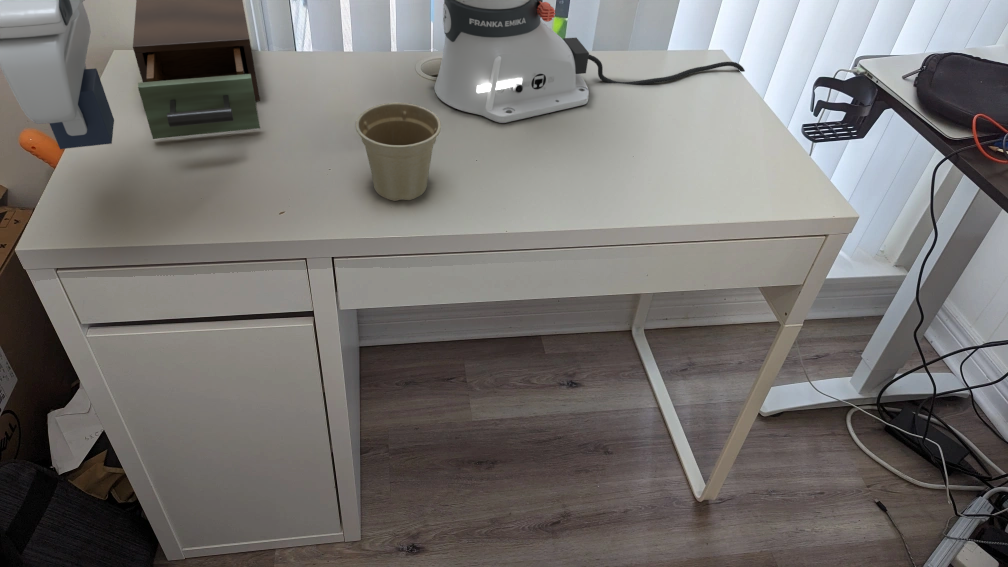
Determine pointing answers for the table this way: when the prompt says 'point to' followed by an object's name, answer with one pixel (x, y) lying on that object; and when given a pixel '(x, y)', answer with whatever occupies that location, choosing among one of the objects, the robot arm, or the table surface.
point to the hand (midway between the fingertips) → (81, 116)
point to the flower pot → (399, 147)
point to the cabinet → (191, 29)
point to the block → (89, 115)
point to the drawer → (198, 92)
